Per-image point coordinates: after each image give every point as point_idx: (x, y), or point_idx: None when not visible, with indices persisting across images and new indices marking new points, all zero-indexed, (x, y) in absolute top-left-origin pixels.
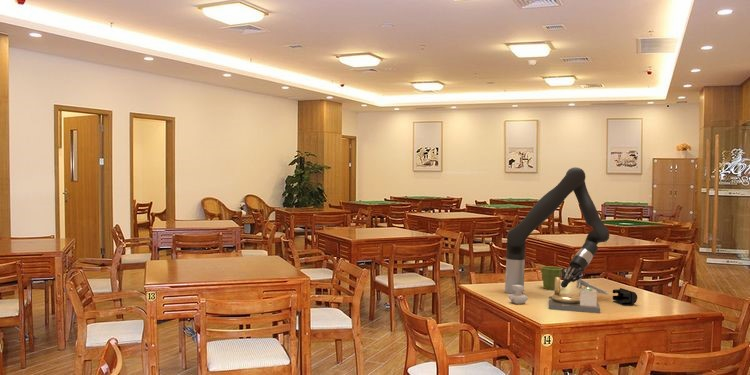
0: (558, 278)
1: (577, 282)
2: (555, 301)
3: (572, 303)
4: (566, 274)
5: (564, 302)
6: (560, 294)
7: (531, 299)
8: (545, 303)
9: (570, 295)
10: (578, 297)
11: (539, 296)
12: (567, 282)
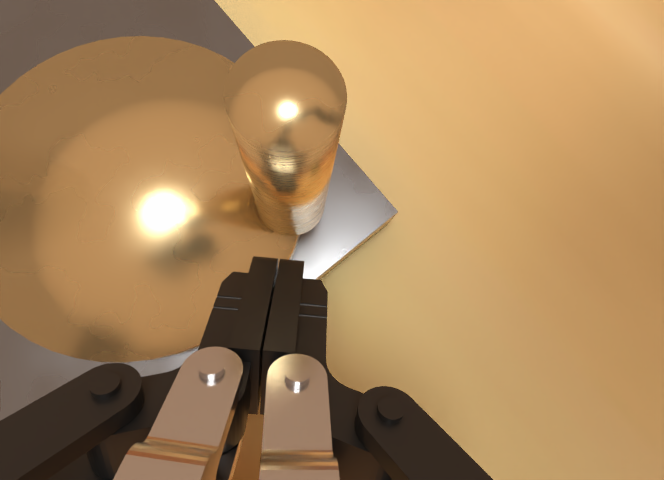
0: (237, 66)
1: None
2: None
3: None
4: (301, 458)
5: None
6: (258, 223)
7: (500, 125)
8: None
9: (146, 284)
10: (5, 267)
11: (581, 310)
12: (206, 333)
